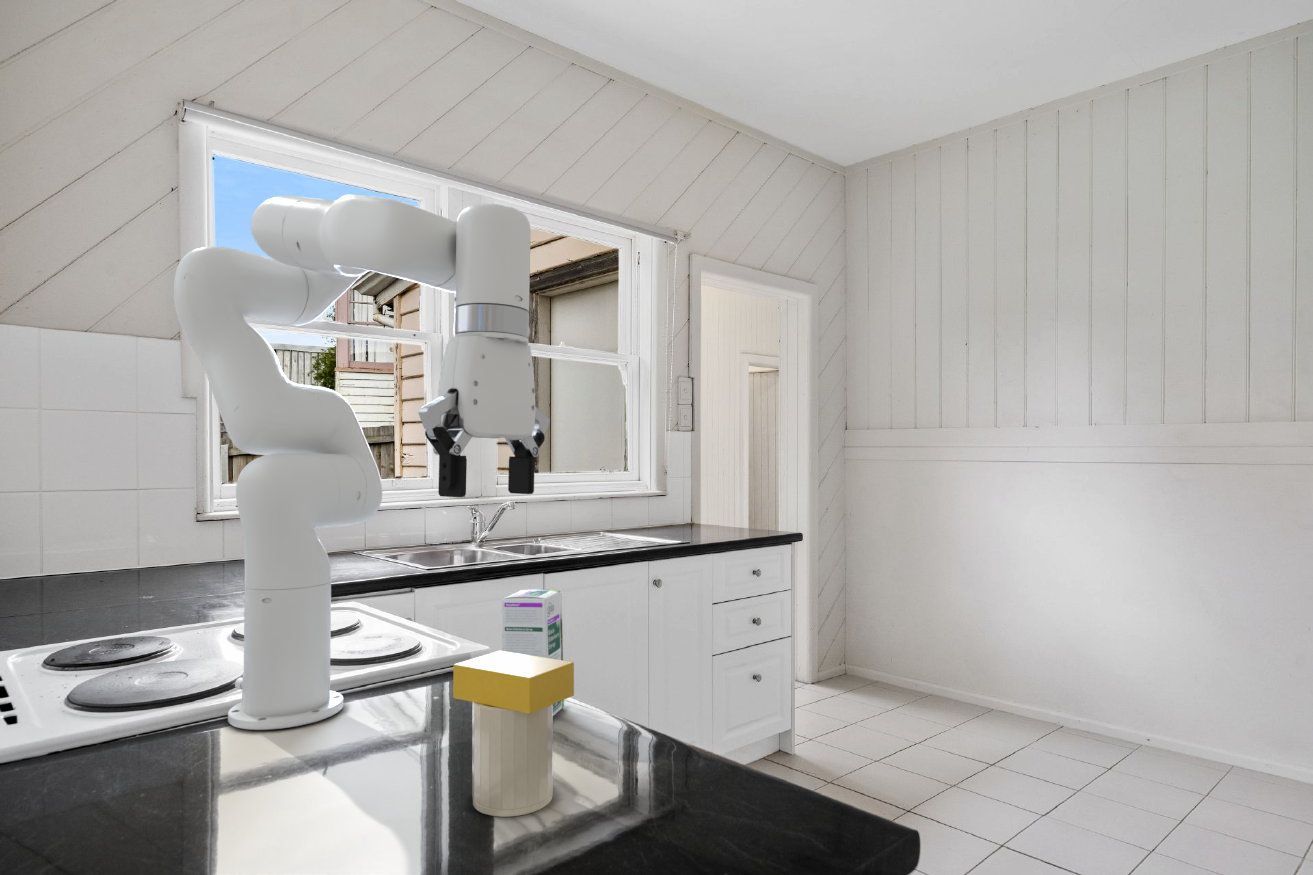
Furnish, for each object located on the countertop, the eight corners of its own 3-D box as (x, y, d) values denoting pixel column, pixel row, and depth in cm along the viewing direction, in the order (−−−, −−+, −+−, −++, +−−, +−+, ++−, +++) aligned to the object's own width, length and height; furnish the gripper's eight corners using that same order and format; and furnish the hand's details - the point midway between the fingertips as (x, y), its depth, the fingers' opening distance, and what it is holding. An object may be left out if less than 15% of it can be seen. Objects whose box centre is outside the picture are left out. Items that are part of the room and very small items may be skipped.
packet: (452, 698, 68) (453, 664, 68) (499, 681, 73) (499, 650, 73) (530, 714, 63) (529, 677, 63) (574, 695, 68) (574, 661, 68)
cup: (455, 804, 66) (455, 701, 67) (510, 777, 72) (510, 681, 73) (515, 824, 63) (515, 713, 63) (568, 792, 69) (568, 692, 69)
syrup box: (548, 723, 88) (548, 596, 88) (500, 720, 89) (500, 595, 89) (564, 707, 93) (564, 589, 94) (519, 705, 94) (519, 588, 95)
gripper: (522, 343, 88) (519, 491, 87) (398, 318, 73) (394, 496, 72) (573, 338, 83) (570, 493, 83) (453, 311, 69) (448, 499, 68)
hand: (488, 494), depth 78 cm, fingers open, 9 cm apart
